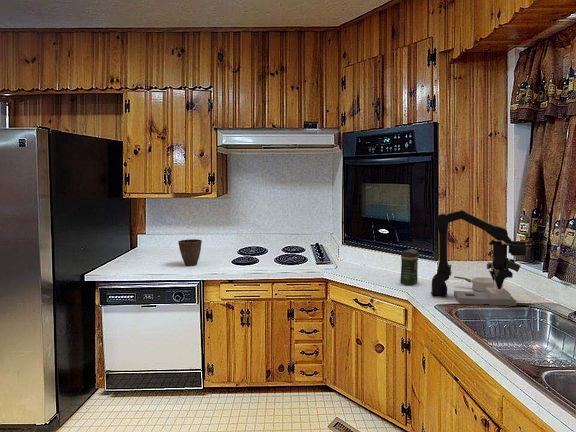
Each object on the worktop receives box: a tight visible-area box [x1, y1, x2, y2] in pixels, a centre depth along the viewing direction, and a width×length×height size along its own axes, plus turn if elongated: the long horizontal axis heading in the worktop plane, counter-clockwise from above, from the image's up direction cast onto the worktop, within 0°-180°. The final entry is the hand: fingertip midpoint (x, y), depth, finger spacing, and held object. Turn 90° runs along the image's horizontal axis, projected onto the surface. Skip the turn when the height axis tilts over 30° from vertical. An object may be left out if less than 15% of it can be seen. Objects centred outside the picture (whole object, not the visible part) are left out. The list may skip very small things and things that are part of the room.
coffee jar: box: [399, 248, 419, 286], centre depth 226 cm, size 10×8×19 cm
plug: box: [494, 280, 504, 292], centre depth 194 cm, size 3×3×8 cm
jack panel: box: [453, 287, 517, 307], centre depth 195 cm, size 24×12×5 cm, turn 79°
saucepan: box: [453, 275, 494, 292], centre depth 215 cm, size 12×20×6 cm, turn 58°
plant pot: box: [177, 238, 203, 267], centre depth 276 cm, size 15×15×16 cm
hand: (498, 288), depth 194 cm, fingers closed on plug, 3 cm apart
